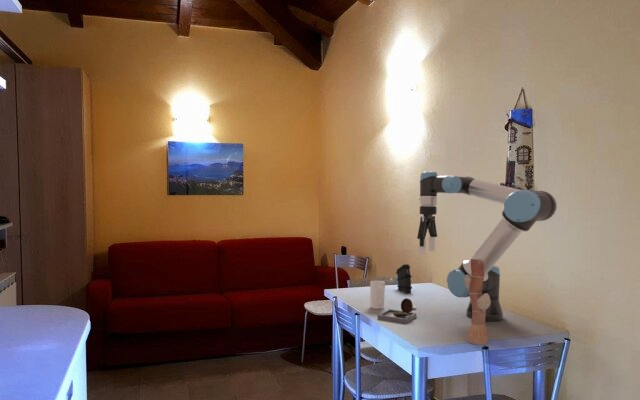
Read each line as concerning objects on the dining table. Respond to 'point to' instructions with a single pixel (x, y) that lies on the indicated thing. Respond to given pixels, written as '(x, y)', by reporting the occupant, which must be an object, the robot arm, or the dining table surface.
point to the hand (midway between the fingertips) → (427, 252)
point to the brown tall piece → (477, 303)
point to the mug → (377, 294)
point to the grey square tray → (401, 319)
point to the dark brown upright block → (404, 278)
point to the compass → (405, 308)
